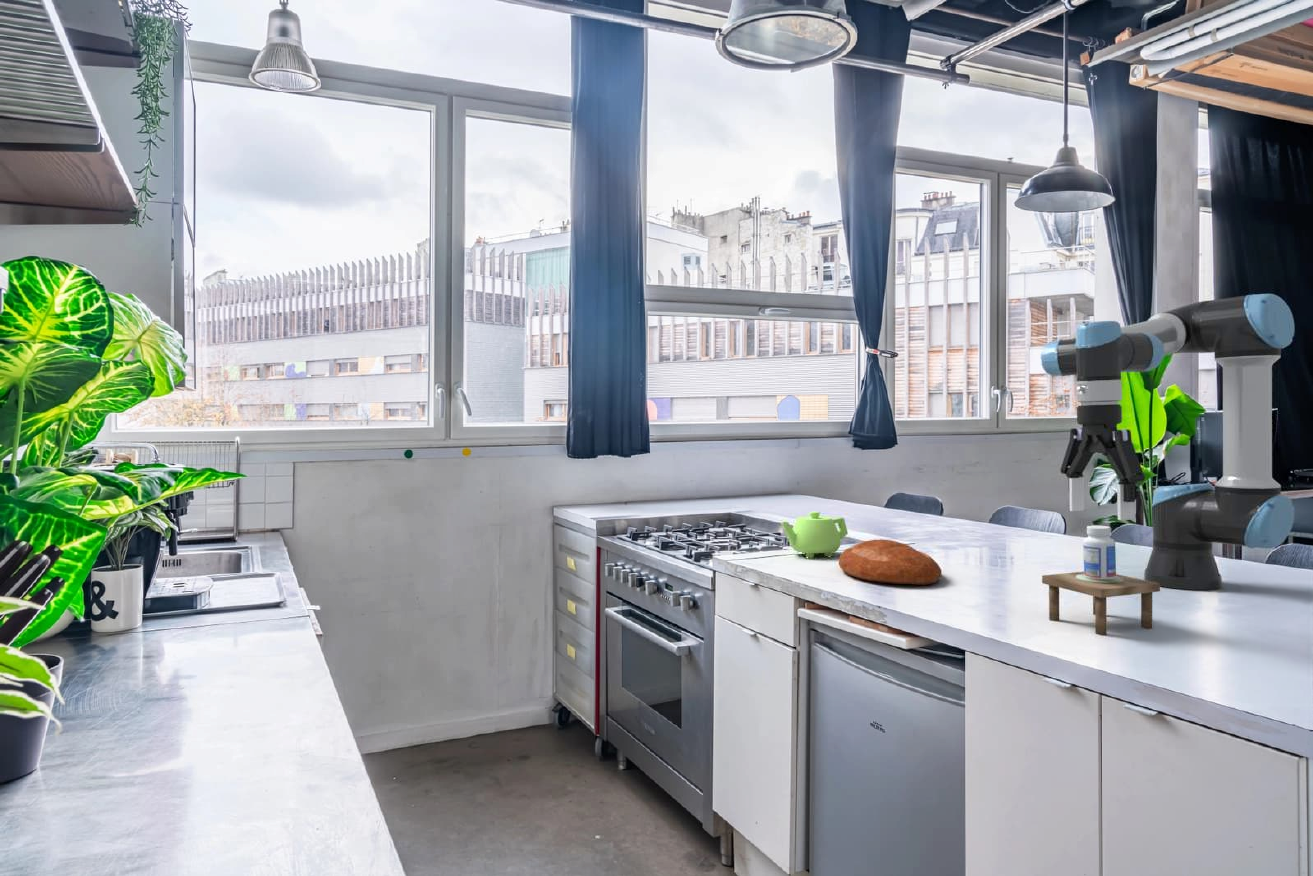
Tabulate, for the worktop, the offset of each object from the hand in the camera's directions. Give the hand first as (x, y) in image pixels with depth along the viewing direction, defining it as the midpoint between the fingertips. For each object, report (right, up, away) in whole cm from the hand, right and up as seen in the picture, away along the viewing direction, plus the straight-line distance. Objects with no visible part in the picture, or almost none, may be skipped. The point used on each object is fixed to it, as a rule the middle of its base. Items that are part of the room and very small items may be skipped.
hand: (1100, 515), depth 156 cm
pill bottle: (0, -12, 0) cm, 12 cm away
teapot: (-39, -19, +81) cm, 92 cm away
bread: (-26, -20, +50) cm, 60 cm away
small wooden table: (0, -21, 0) cm, 21 cm away
